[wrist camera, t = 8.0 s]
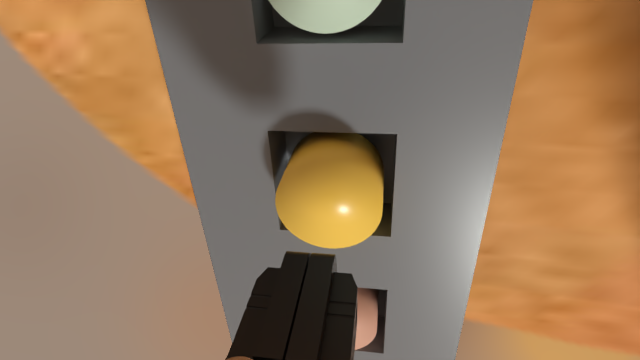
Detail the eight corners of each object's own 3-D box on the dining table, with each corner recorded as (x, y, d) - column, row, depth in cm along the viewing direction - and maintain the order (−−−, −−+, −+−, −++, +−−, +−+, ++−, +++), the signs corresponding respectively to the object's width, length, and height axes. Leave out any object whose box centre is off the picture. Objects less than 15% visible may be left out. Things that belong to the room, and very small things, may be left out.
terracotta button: (303, 256, 22) (293, 294, 20) (379, 262, 21) (378, 301, 19) (307, 307, 24) (299, 346, 22) (377, 313, 23) (375, 354, 21)
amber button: (285, 126, 17) (269, 158, 14) (386, 129, 16) (384, 163, 14) (293, 206, 19) (280, 244, 17) (382, 211, 18) (380, 252, 16)
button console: (149, -183, 13) (93, -204, 11) (547, -220, 12) (588, -256, 9) (250, 313, 26) (235, 355, 24) (444, 331, 24) (450, 379, 22)
